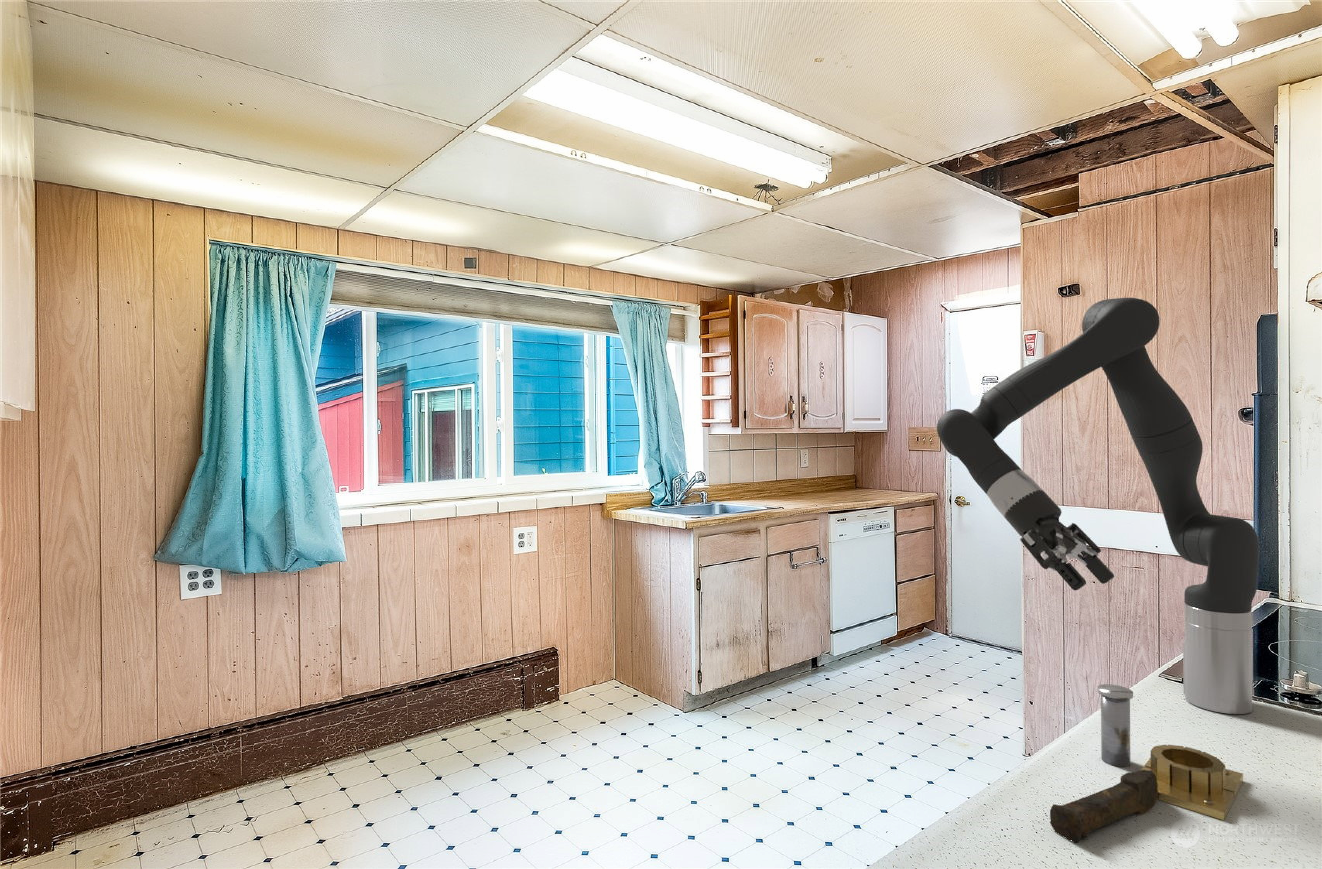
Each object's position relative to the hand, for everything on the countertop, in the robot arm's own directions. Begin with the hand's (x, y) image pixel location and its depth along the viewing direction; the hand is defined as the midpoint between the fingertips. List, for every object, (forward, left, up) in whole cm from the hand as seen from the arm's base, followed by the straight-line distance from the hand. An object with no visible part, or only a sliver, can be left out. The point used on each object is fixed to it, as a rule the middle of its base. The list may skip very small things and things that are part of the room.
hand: (1095, 583), depth 108 cm
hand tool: (+20, -8, -26) cm, 34 cm away
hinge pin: (+5, 0, -25) cm, 26 cm away
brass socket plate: (+11, +6, -25) cm, 28 cm away
